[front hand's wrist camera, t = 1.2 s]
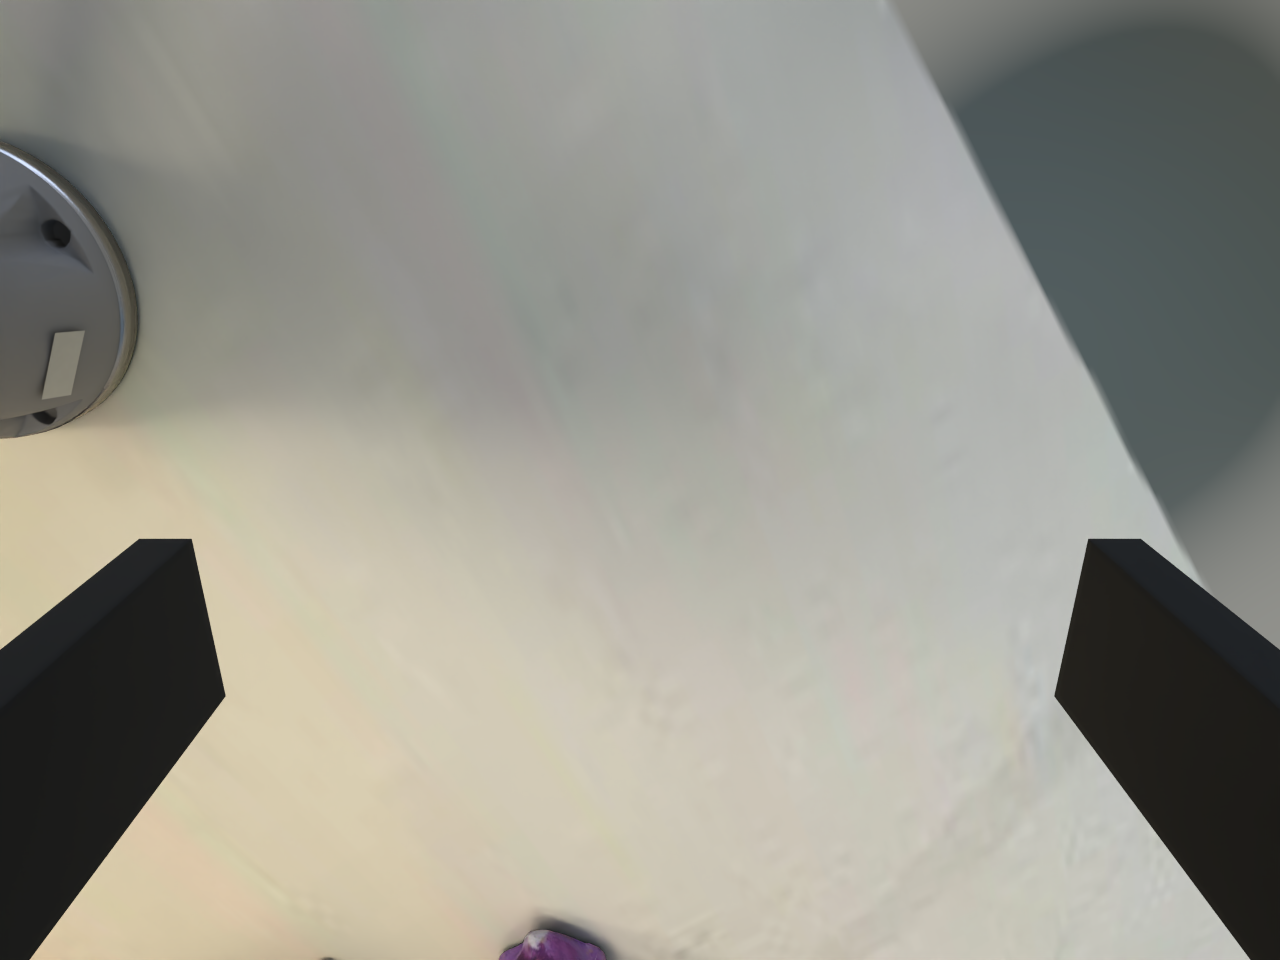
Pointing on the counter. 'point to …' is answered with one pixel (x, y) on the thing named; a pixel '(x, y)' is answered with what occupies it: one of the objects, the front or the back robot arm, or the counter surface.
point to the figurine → (552, 948)
